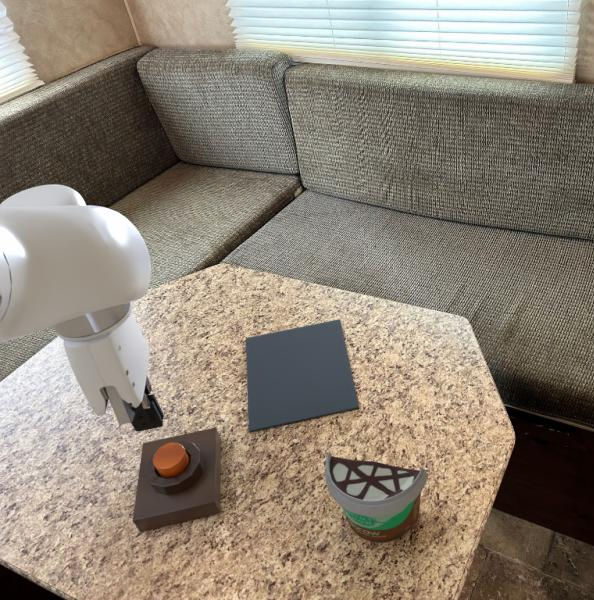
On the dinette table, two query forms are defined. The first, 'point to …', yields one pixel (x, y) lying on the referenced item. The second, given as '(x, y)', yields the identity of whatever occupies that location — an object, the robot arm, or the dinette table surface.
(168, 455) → the button
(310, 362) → the mat
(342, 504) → the food container
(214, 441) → the button box
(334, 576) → the dinette table surface
